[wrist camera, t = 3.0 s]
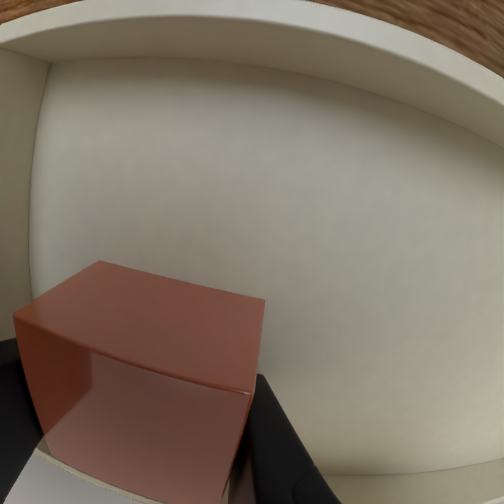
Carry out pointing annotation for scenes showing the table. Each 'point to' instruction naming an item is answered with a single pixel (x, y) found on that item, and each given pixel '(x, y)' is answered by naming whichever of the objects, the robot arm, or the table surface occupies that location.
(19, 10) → the table surface
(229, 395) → the clay block
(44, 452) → the beige tray
